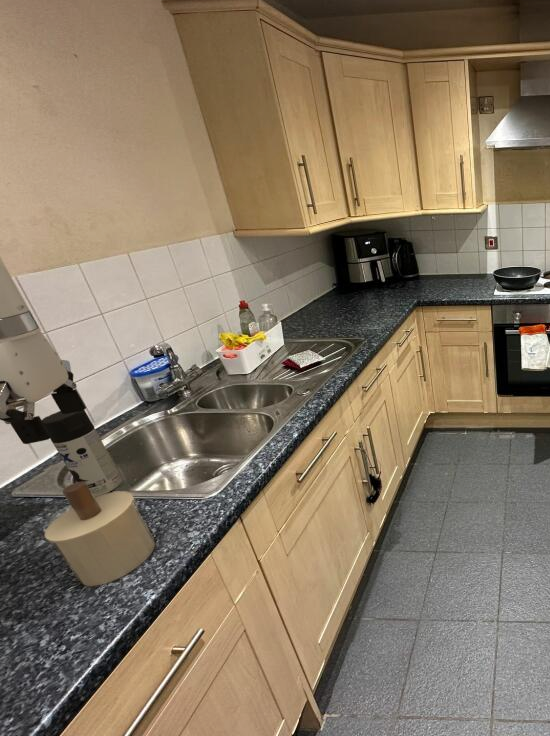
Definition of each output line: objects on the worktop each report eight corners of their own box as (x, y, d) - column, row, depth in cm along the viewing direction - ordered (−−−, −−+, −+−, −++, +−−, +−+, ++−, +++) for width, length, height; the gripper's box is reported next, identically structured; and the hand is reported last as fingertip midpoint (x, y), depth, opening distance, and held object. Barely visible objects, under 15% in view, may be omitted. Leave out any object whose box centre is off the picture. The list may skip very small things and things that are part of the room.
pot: (66, 595, 68) (33, 550, 64) (100, 547, 77) (73, 505, 73) (140, 573, 71) (113, 529, 67) (164, 530, 80) (142, 489, 76)
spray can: (78, 495, 92) (32, 420, 84) (113, 476, 98) (73, 404, 90) (95, 501, 90) (49, 425, 82) (130, 481, 96) (90, 408, 88)
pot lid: (30, 555, 64) (5, 521, 61) (73, 507, 74) (53, 475, 71) (116, 532, 67) (96, 499, 64) (147, 489, 77) (130, 458, 74)
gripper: (9, 317, 67) (61, 407, 74) (-89, 353, 52) (-13, 461, 59) (66, 310, 69) (111, 397, 76) (-12, 342, 54) (53, 447, 61)
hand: (57, 425), depth 67 cm, fingers open, 9 cm apart
